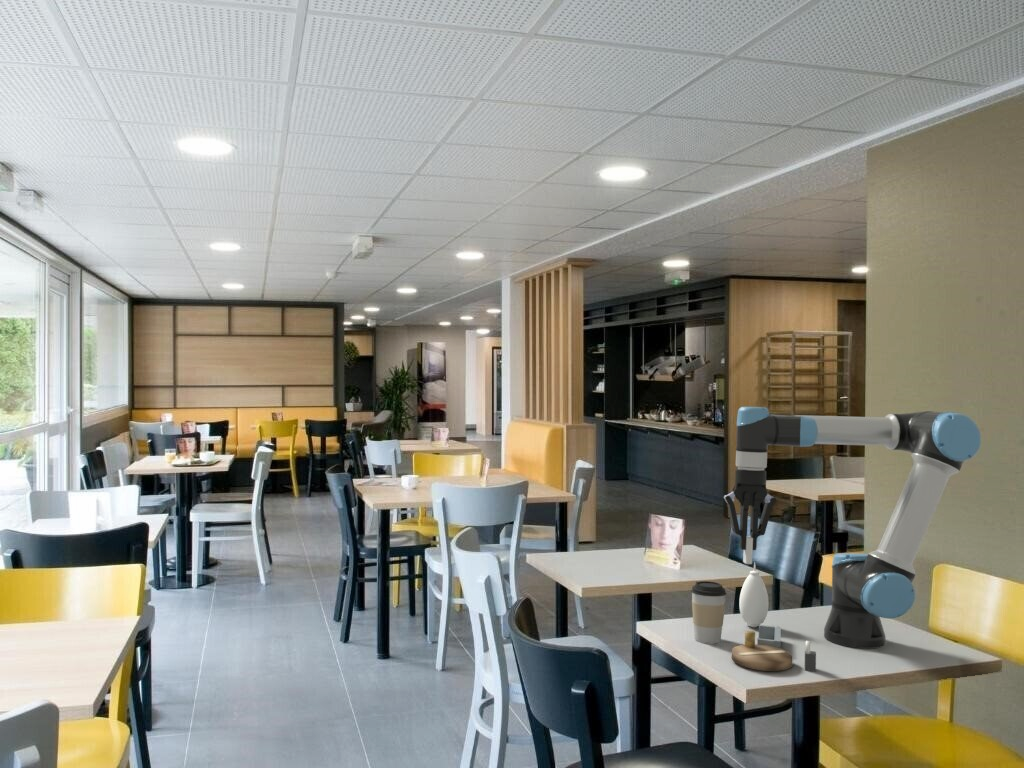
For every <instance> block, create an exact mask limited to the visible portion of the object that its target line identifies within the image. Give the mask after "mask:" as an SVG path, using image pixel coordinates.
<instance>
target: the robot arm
mask: <svg viewBox="0 0 1024 768" xmlns="http://www.w3.org/2000/svg"><path fill="white" fill-rule="evenodd" d="M735 425H736V426H735V427H736V450H735V466H736V467H737V468H736V469H735V470H734V471H735V472H734V486H733V488H732V491H731V492H730V493H728V494H724V495H723V496H722V497H723V499H724V501H725V503H726V505H727V509H728V515H729V519H730V524H731V530H732V532H733V533H734V534H736V535H738V536H739V549H740V550H742V551H743V556H742V557H743V559H742V562H743V563H744V564H745V565H753V551H756V550H757V548H758V547H757V544H758V543H757V542H758V538H759V537H760V536H764V535H765V534H766V530H767V528H768V527H767V526H768V524H769V520H770V516H771V512H772V509H773V507H774V505H775V503H777V498H776V497H774V496H772V495H771V494H769V491H768V489H767V471H766V468H768V465H767V464H768V446H782V447H800V448H802V447H812V446H814V445H843V446H875V447H876V446H877V447H878V446H879V447H880V446H881V447H885V449H887V450H889V451H891V450H892V451H894V450H895V451H903V452H909V453H910V456H911V459H912V461H913V463H912V464H913V465H912V467H911V469H910V471H909V474H908V477H907V478H906V481H905V483H904V486H903V488H902V491H901V493H900V495H899V498H898V500H897V503H896V504H895V506H894V507H895V508H894V510H893V512H892V514H891V516H890V519H889V522H888V523H887V525H886V529H885V531H884V533H883V536H882V537H881V540H880V543H879V544H878V547H877V549H876V550H873V551H870V552H868V553H858V552H857V553H855V552H854V553H851V552H848V553H847V552H844V553H843V552H842V553H841V552H839V553H836V554H834V555H833V558H832V564H831V568H832V570H831V572H832V575H831V610H830V611H829V612H830V613H829V615H828V616H827V621H826V623H825V625H824V628H823V630H824V631H823V632H824V633H823V637H824V639H826V640H827V641H828V642H831V643H834V644H836V645H837V644H838V645H841V646H844V647H850V648H858V649H877V648H882V647H884V646H886V633H885V631H884V630H885V629H884V626H883V623H882V620H881V618H883V619H889V620H890V619H891V620H892V619H895V618H899V617H902V616H904V615H905V614H906V613H908V612H909V611H910V610H911V609H912V606H913V605H914V603H915V598H916V591H915V589H914V585H913V582H914V579H915V577H916V570H915V568H914V566H913V565H914V564H913V563H914V561H915V559H916V557H917V555H918V552H919V549H920V547H921V544H922V543H923V540H924V538H925V535H926V534H927V531H928V528H929V526H930V524H931V521H932V519H933V517H934V514H935V512H936V510H937V508H938V505H939V502H940V500H941V498H942V495H943V493H944V490H945V488H946V486H947V483H948V482H949V478H950V477H951V476H953V475H957V474H959V473H960V471H961V468H962V466H963V464H964V461H968V460H969V459H971V458H974V457H975V455H976V454H977V453H978V451H979V449H980V447H981V443H982V435H981V432H980V430H979V427H978V425H977V424H976V423H975V421H974V420H973V419H972V418H970V417H969V416H967V415H965V414H962V413H957V412H954V411H927V410H926V411H917V412H909V413H907V412H906V413H888V414H886V415H885V416H884V417H883V416H882V417H881V416H880V417H879V416H877V417H876V416H875V417H874V416H844V415H842V416H841V415H840V416H838V415H807V414H805V415H803V414H802V415H801V414H800V415H799V414H793V415H792V414H776V413H770V412H769V408H767V407H763V406H759V407H758V406H741V407H740V408H738V410H737V418H736V424H735ZM735 500H737V502H738V503H739V504H740V506H739V508H740V511H739V512H740V513H739V514H740V518H739V521H738V516H737V510H736V505H735ZM763 501H764V506H763V510H762V512H761V517H760V520H759V510H760V505H761V503H762V502H763ZM749 508H750V522H749V521H748V519H749ZM748 522H749V523H750V524H749V523H748ZM748 524H749V535H748Z"/></svg>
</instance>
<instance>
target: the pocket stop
mask: <svg viewBox="0 0 1024 768" xmlns="http://www.w3.org/2000/svg"><path fill="white" fill-rule="evenodd" d="M781 629H782V628H781V626H780V627H778V626H775V625H766V624H760V625H759V626H758V638H757V645H766V646H772V647H776V648H780V649H781V645H782V644H781V639H782V637H781V634H782V633H781V632H782V631H781Z"/></svg>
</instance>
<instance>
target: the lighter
mask: <svg viewBox="0 0 1024 768" xmlns="http://www.w3.org/2000/svg"><path fill="white" fill-rule="evenodd" d="M816 668H817V652H816V651H813V650H811V641H810V640H805V649H804V671H807V672H816V671H817V669H816Z"/></svg>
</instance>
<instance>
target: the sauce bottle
mask: <svg viewBox="0 0 1024 768" xmlns="http://www.w3.org/2000/svg"><path fill="white" fill-rule="evenodd" d="M756 568H757V567H756V562H754V564H753V570H750V571H749V574H748V576H747V577H746V578H745V580H744V582H743V584H742V588H741V590H740V594H739V600H738V601H739V602H738V603H739V606H738V607H739V613H740V615H741V618H742V620H743V621H744V623H746V625H748V626H750V627H749V628H758V627H759V625H762V624H763V623H764V622H765V620H766V618H767V616H768V614H769V613H768V611H769V595H768V591H767V587H766V585H765V582H764V580H763V578H762V577H761V575H760V571H757V570H756Z"/></svg>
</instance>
